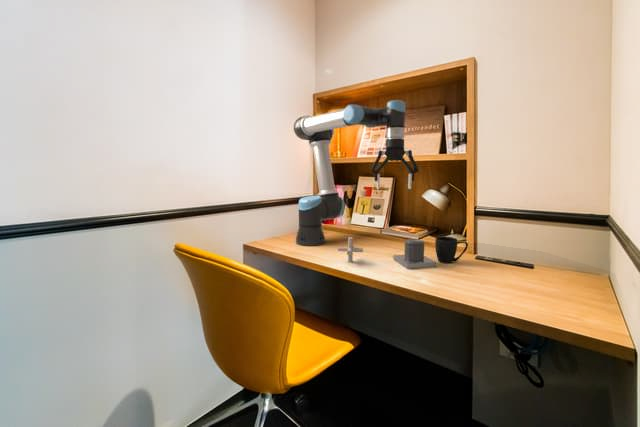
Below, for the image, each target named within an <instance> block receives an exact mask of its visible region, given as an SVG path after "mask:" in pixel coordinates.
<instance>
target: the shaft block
mask: <svg viewBox="0 0 640 427" xmlns="http://www.w3.org/2000/svg"><path fill="white" fill-rule="evenodd" d="M404 255H405V254H395V255H394V254H393V257H392V258H393V261H394V262H395V263H398V264H399V265H401V266H402V267H403V268H405V269H407V270H411V269H412V270H413V269H424V268H436V266H437V261H435V260H433V259H431V258H430V257H427V256H426V255H424V259H423V260H421V261H411V260H407V259H405V258H404Z"/></svg>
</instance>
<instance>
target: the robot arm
mask: <svg viewBox="0 0 640 427" xmlns="http://www.w3.org/2000/svg"><path fill="white" fill-rule="evenodd" d="M405 122H406V102H405V101H404V100H401V99H395V100H394V99H393V100H389V101H387V103H386V107H381V108H374V107H369V106H365V105H364V106H363V105H359V104H348V105H346V106H345V108H342V109H338V110H333V111H330V112H325V113H322V114H316V115H313V116H312V115H304V116H300V117H298V118H297V119H296V120H295V121H294V123H293V132H294V135H296V137H297V138H298V139H300V140H302V141H303V140H304V141H305V140H306V141H308V145H309V147H311V148H312V153H313V157H314V158H313V159H314V165H315V171H316V172H315V173H316V179H317V186H318V193H317V194H316V195H311V196H309V195H308V196H305V197H301V198H300V199H299V200H298V207H297V208H298V230H297V232H296V233H297V234H296V237H295V243H296V245H299V246H306V247H307V246H309V247H311V246H313V247H314V246H321V245H324V244H325V243H326V236H325V233H324V230H323V226H322V225H323V224H322V221H327V220H334V219H337V218H340V217H341V216H342V215H343V214H344V212H345V207H346V205H345V201H344V199H343V198H342V197H341V196H340V194H339V191H337V189H336V186H335V179H334V173H333V167H332V159H331V153H330V144H331V143H332V139H333V136H334V133H335V130H336V129H341V128H347V127H351V126H365V127H366V128H373V129H374V128H377V127H384V126H386V133H385V134H386V135H385V137H386V140H385V150H379V151H377V152H378V153H377V157H376V158H375V160H374V163H373V165H372V166H371V168H370V171H369V172H371V173H373V174H374V181H375V182H376V189H377V190H380V177H381V174H380V171H381V170H382V169H383V168H384V167H385V166H386V164H387V163H388V162H401V164H403V166H404V167H405V168H406V169H407V171H408V172H409V173H408V181H407V183H408V184H407V189H408V190H412V182H414V181H415V174H416V173H419V168H418V166H417V163H416V161H415V159H414V157H413V153H412V152H413V151H412V150H411V149H409V150H405V139H404V138H405V131H406V130H405ZM384 155H385V156H386V157H385V159H384V160H383V161H382V163H381V164H380V165H379V166H378V164H379V162H380V161H381V158H382V157H383V156H384ZM404 155H406V156H407V157H408V160H409V162H410V164H411V165H410V164H409V163H408V162H407V160H406V158H404ZM377 166H378V167H377ZM411 166H412V167H411Z"/></svg>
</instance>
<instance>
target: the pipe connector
mask: <svg viewBox="0 0 640 427" xmlns="http://www.w3.org/2000/svg"><path fill="white" fill-rule="evenodd" d="M347 240H348V241H347V243H348V244H347V246H338V247H337V251H338V252H346V255H347V262H348V263H353V262H354V261H353V260H354V259H353V253H363V252H364V248H363V247H355V246H354V245H353V244H354V243H353V242H354V241H353V240H354V237H351V236H349V237H348V239H347Z"/></svg>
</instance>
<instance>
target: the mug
mask: <svg viewBox="0 0 640 427" xmlns="http://www.w3.org/2000/svg"><path fill="white" fill-rule="evenodd" d="M458 244H465V247H464V248H463V251H462V252H461V253H460V254H459V255H458V256H456V253H457V251H458V250H457V249H458ZM434 245H435V254H436V258H437V262H439V263H440V264H447V265H448V264H449V265H450V264H452V263H455V262H457V261H458V260H460V258H461V257H462V255H464V253H465V252H466V251H467V250H468V247H469V243H468V242H467V241H458V238H455V237H452V236H437V237H435V244H434Z"/></svg>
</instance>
